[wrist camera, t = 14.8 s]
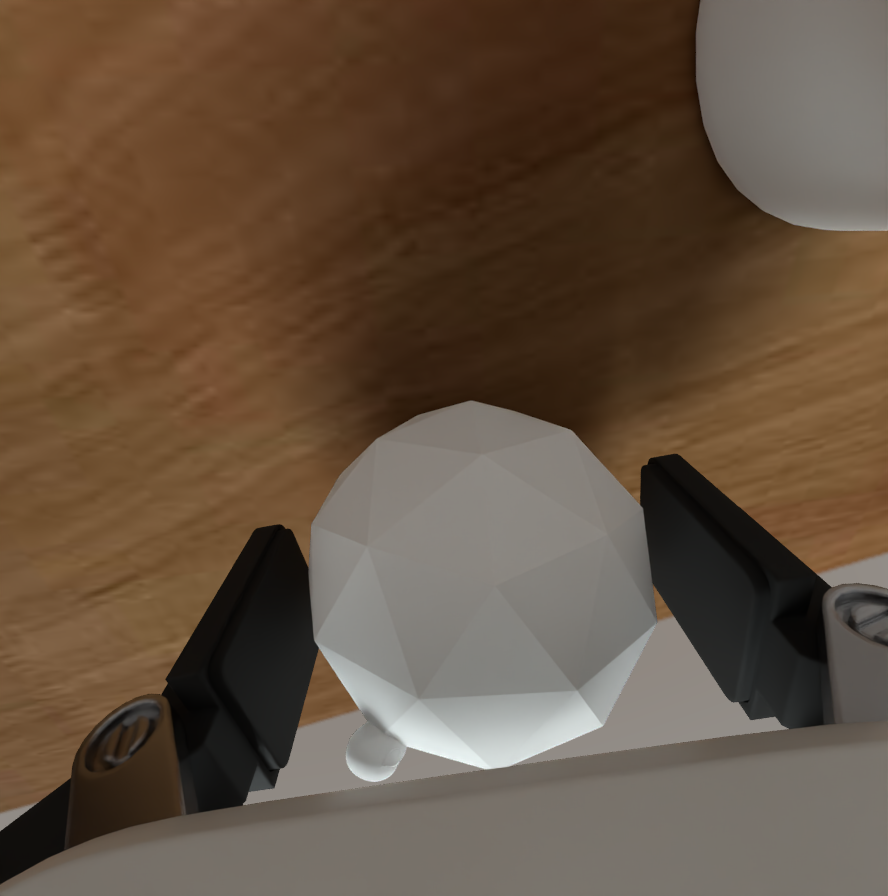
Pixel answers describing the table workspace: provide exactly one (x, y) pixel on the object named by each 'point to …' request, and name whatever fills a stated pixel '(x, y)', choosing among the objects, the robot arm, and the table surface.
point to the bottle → (799, 106)
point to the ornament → (478, 589)
